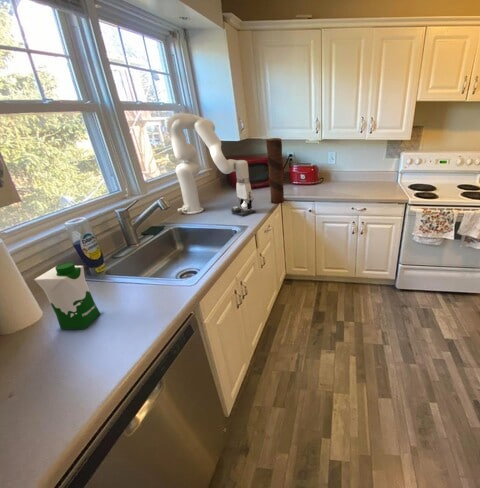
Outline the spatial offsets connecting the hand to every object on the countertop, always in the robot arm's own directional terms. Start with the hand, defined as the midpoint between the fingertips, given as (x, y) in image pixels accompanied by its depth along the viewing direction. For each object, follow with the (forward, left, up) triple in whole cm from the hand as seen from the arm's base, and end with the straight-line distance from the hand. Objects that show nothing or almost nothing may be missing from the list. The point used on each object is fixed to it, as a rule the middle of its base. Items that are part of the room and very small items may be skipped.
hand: (246, 207), depth 184 cm
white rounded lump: (0, 0, -2) cm, 2 cm away
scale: (-2, +1, -4) cm, 4 cm away
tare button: (-5, +4, -1) cm, 7 cm away
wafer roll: (+31, +1, -4) cm, 31 cm away
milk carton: (-103, -41, -4) cm, 111 cm away
